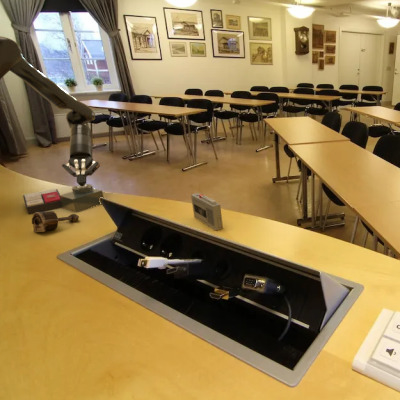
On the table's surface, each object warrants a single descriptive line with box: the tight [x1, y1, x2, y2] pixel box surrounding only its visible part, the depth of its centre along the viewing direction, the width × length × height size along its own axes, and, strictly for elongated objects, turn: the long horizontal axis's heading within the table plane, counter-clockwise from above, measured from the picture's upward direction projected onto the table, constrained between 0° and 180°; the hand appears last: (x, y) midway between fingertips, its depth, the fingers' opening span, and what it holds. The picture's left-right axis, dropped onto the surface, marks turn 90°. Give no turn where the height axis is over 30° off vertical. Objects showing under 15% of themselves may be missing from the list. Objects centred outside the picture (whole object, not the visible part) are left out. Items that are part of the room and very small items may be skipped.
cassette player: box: [190, 192, 224, 232], centre depth 113 cm, size 16×3×10 cm, turn 46°
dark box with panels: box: [22, 188, 63, 215], centre depth 127 cm, size 11×4×15 cm
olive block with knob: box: [59, 183, 105, 214], centre depth 127 cm, size 11×9×8 cm
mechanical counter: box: [31, 210, 80, 233], centre depth 109 cm, size 7×13×10 cm
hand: (81, 184), depth 127 cm, fingers closed
